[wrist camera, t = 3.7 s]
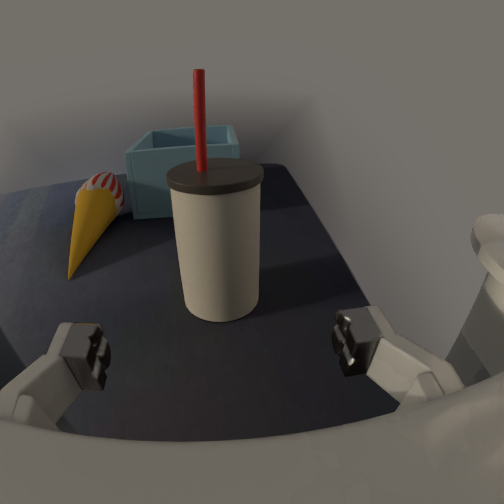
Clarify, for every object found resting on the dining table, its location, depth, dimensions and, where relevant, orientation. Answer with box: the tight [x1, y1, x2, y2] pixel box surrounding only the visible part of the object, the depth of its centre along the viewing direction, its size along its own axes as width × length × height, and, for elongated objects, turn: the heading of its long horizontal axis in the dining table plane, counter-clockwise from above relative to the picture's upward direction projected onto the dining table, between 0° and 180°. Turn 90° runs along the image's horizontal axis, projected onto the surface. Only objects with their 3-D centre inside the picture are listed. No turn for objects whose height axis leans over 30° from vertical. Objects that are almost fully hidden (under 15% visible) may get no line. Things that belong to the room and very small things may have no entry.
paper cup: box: [166, 69, 264, 322], centre depth 21 cm, size 6×6×17 cm
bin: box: [124, 125, 239, 220], centre depth 44 cm, size 14×16×9 cm
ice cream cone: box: [68, 172, 124, 281], centre depth 34 cm, size 6×6×20 cm
